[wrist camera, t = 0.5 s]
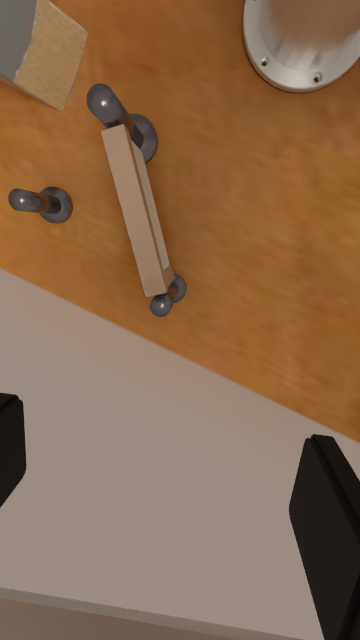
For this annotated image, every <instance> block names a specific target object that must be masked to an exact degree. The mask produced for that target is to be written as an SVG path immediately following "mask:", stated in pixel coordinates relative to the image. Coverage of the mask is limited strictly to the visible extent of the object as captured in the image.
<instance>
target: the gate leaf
mask: <svg viewBox="0 0 360 640" xmlns="http://www.w3.org/2000/svg"><path fill="white" fill-rule="evenodd" d="M101 135H102V139H103V142H104V146H105V150H106V153H107V157H108V161H109V164H110V168H111V172H112V175H113V179H114V183H115V186H116V190H117V194H118V197H119V201H120V205H121V208H122V212H123V216H124V219H125V223H126V227H127V230H128V234H129V238H130V242H131V245H132V249H133V253H134V256H135V260H136V264H137V267H138V271H139V275H140V278H141V282H142V286H143V289H144V293H145V297H149V296H154V295H158V294H163V293H166V292H167V291H168V287H169V285H170V284H171V283H172V281H173V280H174V278H175V277H174V273H173V269H172V265H170V264H169V260H168V256H167V252H166V248H165V243H164V239H163V235H162V231H161V227H160V223H159V219H158V215H157V211H156V207H155V203H154V199H153V195H152V191H151V186H150V182H149V178H148V174H147V170H146V166H145V162H144V158H143V154H142V151H141V150H140V149H139V148H138V147H137V146H136V145H135V143H134V142H133V141H132V140H131V139H130V135H129V131H128V129H127V128H126V126H125V125H124V124H122V125H119V126H115V127H112V128H109V129H106V130H102V131H101Z"/></svg>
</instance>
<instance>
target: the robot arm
mask: <svg viewBox="0 0 360 640" xmlns="http://www.w3.org/2000/svg"><path fill="white" fill-rule="evenodd" d="M243 38H244V44H245V48H246V51H247V54H248V57H249V59H250V61H251V63H252V65H253V66H254V68H255V70H256V71H257V72H258V73H259V74H260V76H261V77H262V78H263V79H264V80H266V81H267V82H268V83H270V84H271V85H272V86H274V87H277V88H279V89H281V90H284V91H289V92H294V93H300V92H310V91H314V90H318V89H321V88H323V87H325V86H327V85H329V84H331V83H333V82H334V81H336V80H337V79H338V78H340V77H341V76H343V75H344V74H345V73H346V72H347V71H348V70H349V69H350V68H351V67H352V66H353V64H354V63H355V62H356V61H357V60H358V58H359V57H360V0H256V1H253V0H246V1H245V5H244V12H243ZM262 63H265V64H266V66H262V65H261V64H262ZM313 79H317V83H316V82H314V80H313ZM25 471H26V450H25V431H24V411H23V402H22V401H21V400H19V398H18V396H17V395H12V394H6V393H0V507H1V506H2V505H3V503H4V502H5V501H6V499H7V498H8V497H9V495H10V494H11V493H12V491H13V490H14V489H15V487H16V486H17V485H18V483H19V482H20V481H21V479H22V478H23V476H24V474H25ZM289 515H290V520H291V523H292V527H293V530H294V534H295V537H296V541H297V544H298V548H299V551H300V555H301V558H302V562H303V566H304V569H305V573H306V576H307V580H308V583H309V587H310V590H311V594H312V597H313V601H314V604H315V608H316V611H317V615H318V619H319V622H320V626H321V629H322V633H323V636H324V640H360V481H359V479H358V478H357V476H356V474H355V473H354V471H353V469H352V468H351V466H350V464H349V463H348V461H347V459H346V458H345V456H344V454H343V453H342V451H341V449H340V448H339V446H338V444H337V443H336V441H335V439H334V438H333V437H331V436H323V435H316V434H313V435H312V436H311V439H309V438H307V439H306V440H305V442H304V446H303V450H302V455H301V459H300V463H299V467H298V471H297V475H296V480H295V484H294V488H293V492H292V496H291V500H290V505H289ZM0 640H302V639H296V638H292V637H287V636H282V635H276V634H271V633H265V632H260V631H254V630H249V629H243V628H237V627H232V626H225V625H219V624H214V623H209V622H203V621H197V620H191V619H186V618H180V617H174V616H168V615H163V614H156V613H150V612H145V611H139V610H133V609H127V608H121V607H115V606H109V605H103V604H97V603H91V602H86V601H79V600H74V599H68V598H62V597H56V596H49V595H44V594H37V593H31V592H25V591H18V590H12V589H6V588H0Z"/></svg>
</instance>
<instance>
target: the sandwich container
mask: <svg viewBox="0 0 360 640" xmlns="http://www.w3.org/2000/svg"><path fill="white" fill-rule="evenodd" d="M87 36H88V32H87V31H86V30H85V29H84V28H82V27H81V26H80V25H79V24H78V23H76V22H75V21H74V20H73V19H72V18H70V17H69V16H68V15H67V14H65V13H64V12H63V11H62V10H61V9H59V8H58V7H57V6H56V5H55V4H53V3H52V2H51V1H50V0H0V82H2V83H4V84H6V85H8V86H10V87H12V88H14V89H16V90H18V91H20V92H22V93H24V94H26V95H28V96H30V97H32V98H34V99H36V100H38V101H40V102H42V103H44V104H46V105H48V106H50V107H52V108H54V109H56V110H58V111H60V112H62V111H63V109H64V107H65V104H66V101H67V98H68V96H69V93H70V90H71V87H72V85H73V82H74V79H75V76H76V74H77V70H78V67H79V63H80V60H81V56H82V53H83V50H84V46H85V43H86V39H87Z"/></svg>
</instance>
